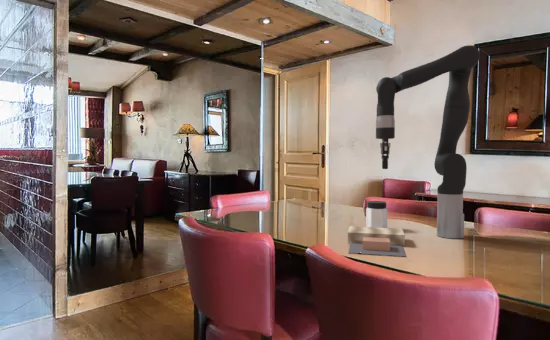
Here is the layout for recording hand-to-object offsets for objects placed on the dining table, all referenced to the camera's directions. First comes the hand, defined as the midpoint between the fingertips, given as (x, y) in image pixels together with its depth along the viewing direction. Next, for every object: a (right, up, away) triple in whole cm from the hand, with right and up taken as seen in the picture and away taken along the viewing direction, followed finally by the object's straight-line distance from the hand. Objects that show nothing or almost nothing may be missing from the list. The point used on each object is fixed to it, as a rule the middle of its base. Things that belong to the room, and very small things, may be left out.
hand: (384, 168), depth 149 cm
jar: (-1, -27, +10) cm, 29 cm away
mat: (-11, -28, -26) cm, 39 cm away
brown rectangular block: (-11, -25, -25) cm, 36 cm away
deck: (-8, -28, -13) cm, 31 cm away
